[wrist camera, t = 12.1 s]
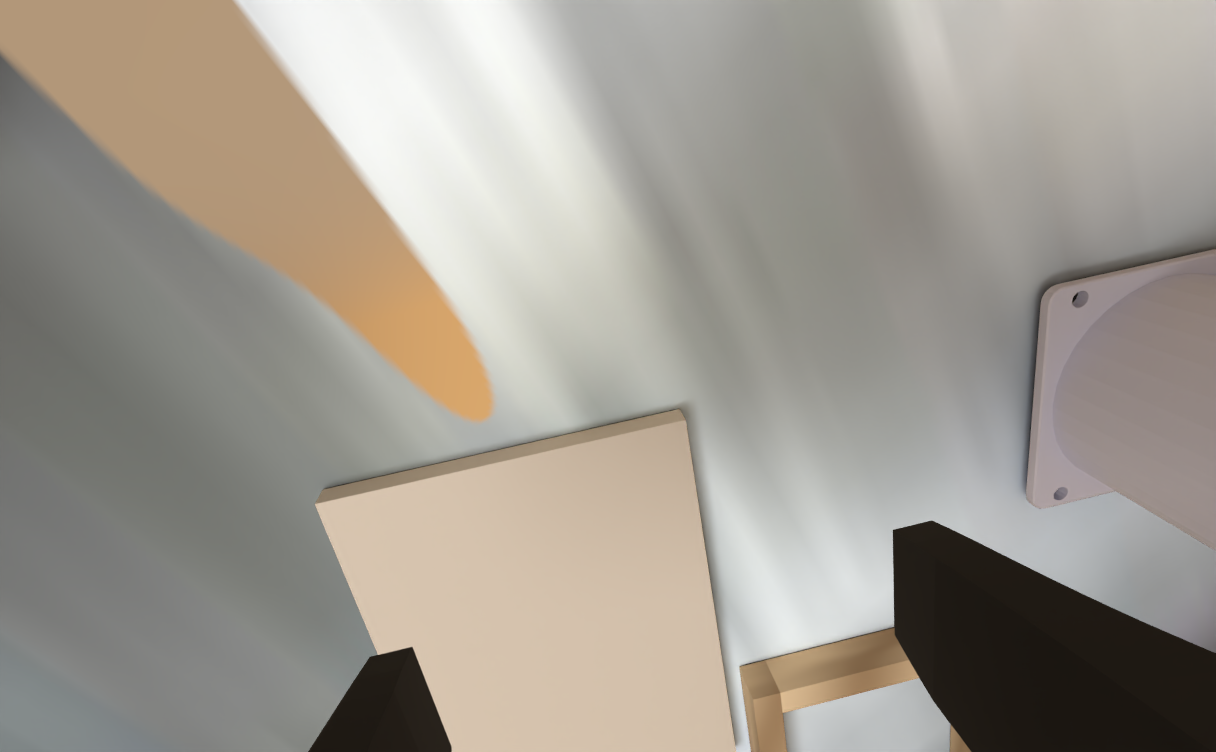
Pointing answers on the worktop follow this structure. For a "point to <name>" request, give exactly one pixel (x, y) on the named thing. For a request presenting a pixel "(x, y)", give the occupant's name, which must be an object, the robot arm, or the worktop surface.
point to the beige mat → (547, 591)
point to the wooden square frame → (821, 683)
